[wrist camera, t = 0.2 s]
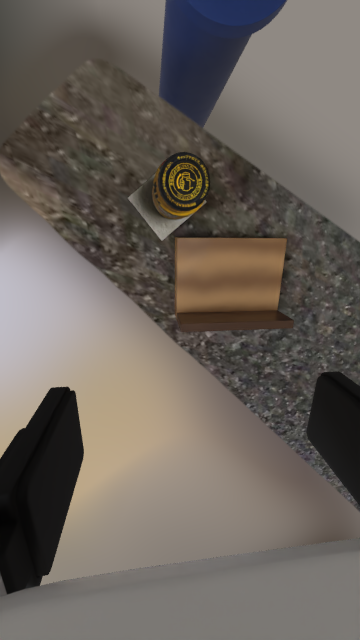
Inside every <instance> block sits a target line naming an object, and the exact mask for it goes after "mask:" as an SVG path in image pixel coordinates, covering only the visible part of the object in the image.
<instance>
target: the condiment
mask: <svg viewBox="0 0 360 640" xmlns="http://www.w3.org/2000/svg"><path fill="white" fill-rule="evenodd" d="M209 188H210V176H209V172H208V169H207V167H206V166H205V164H204V162H203V161H202V160H201V159H200V158H198V157H197V156H196V155H194V154H191V153H187V152H179V153H176V154H174V155H172V156H170V157H169V158H168V159H166V160H165V161H164V162H163V163H162V164H161V165H160V166H159V168H158V169H157V171H156V173H155V174H154V175H153V176H152V177H151V178H150V179H148V180H147V181H146V182H145V183H144V184H143V185H142V186H141V187H140V188H138V189H137V190H136V191H135V192H134V193H133V194H132V195H131V196H130V197H128V199H129V200H130V201H131V203H132V204H133V205H134V206H135V208H136V209H137V210H138V211H139V213H140V214H141V215H142V216H143V218H144V219H145V220H146V222H147V223H148V224H149V225H150V227H151V228H152V229H153V230H154V232H155V233H156V234H157V235H158V237H159V238H160V239H161V240H163V239H165V238H166V237H167V236H168V235H169V234H170V233H172V232H173V231H174V230H175V229H176V228H177V227H179V226H180V225H181V224H182V223H183V222H184V221H186V220H187V219H188V218H189V217H190V216H191V215H192V214H194V213H195V212H196V211H197V210H198V209H199V208H201V207H202V206H203V205H204V204H205V203H206V200H205V198H206V196H207V195H208V191H209Z"/></svg>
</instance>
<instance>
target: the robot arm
mask: <svg viewBox="0 0 360 640" xmlns="http://www.w3.org/2000/svg"><path fill="white" fill-rule="evenodd" d="M307 436H308V439H309V440H310V442H311V443H312V444H313V446H314V447H315V448H316V450H317V451H318V452H319V454H320V455H321V456H322V457H323V459H324V460H325V461H326V463H327V464H328V465H329V466H330V468H331V469H332V470H333V472H334V473H335V474H336V476H337V477H338V478H339V479H340V481H341V482H342V483H343V485H344V486H345V487H346V488H347V490H348V491H349V492H350V494H351V495H352V496H353V497H354V499H355V500H356V501H357V503H358V504H359V505H360V386H359V385H357V384H356V383H354V382H353V381H352V380H350V379H349V378H348V377H346V376H345V375H343V374H342V373H340V372H324V373H322V374H321V376H319V377H318V379H317V383H316V387H315V392H314V397H313V402H312V407H311V412H310V417H309V422H308V427H307ZM83 454H84V449H83V442H82V435H81V428H80V421H79V414H78V407H77V401H76V394H75V391H70V388H69V387H56V388H51V389H50V390H49V391H48V393H47V395H46V396H45V398H44V399H43V401H42V403H41V404H40V406H39V407H38V409H37V410H36V412H35V414H34V415H33V417H32V418H31V420H30V421H29V423H28V425H27V426H26V428H23V429H21V430H19V432H18V433H17V434H16V436H15V437H14V439H13V440H12V442H11V443H10V445H9V446H8V448H7V449H6V451H5V452H4V454H3V455H2V457H1V459H0V640H360V538H356V539H348V540H341V541H333V542H325V543H318V544H311V545H303V546H296V547H288V548H281V549H273V550H266V551H259V552H252V553H245V554H237V555H230V556H223V557H216V558H209V559H202V560H195V561H188V562H181V563H173V564H167V565H159V566H152V567H145V568H138V569H131V570H126V571H119V572H114V573H107V574H101V575H94V576H89V577H82V578H77V579H70V580H64V581H59V582H55V583H50V584H46V585H41V586H40V583H41V580H42V576H45V575H48V574H49V572H50V570H51V567H52V564H53V561H54V557H55V554H56V551H57V547H58V544H59V540H60V537H61V533H62V530H63V526H64V523H65V519H66V516H67V513H68V509H69V506H70V502H71V499H72V495H73V491H74V488H75V485H76V482H77V478H78V475H79V471H80V468H81V464H82V461H83Z"/></svg>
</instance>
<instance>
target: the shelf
mask: <svg viewBox="0 0 360 640" xmlns="http://www.w3.org/2000/svg"><path fill="white" fill-rule="evenodd" d="M286 243H287V238H193V237H175V316H176V319H177V322H178V325H179V328H180V331H181V332H195V331H224V330H253V329H281V328H293V324H294V320H292V319H291V318H289V317H288V316H286V315H284V314H283V313H281V312H279V311H278V310H277V309H278V302H279V294H280V287H281V280H282V272H283V265H284V257H285V250H286Z"/></svg>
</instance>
